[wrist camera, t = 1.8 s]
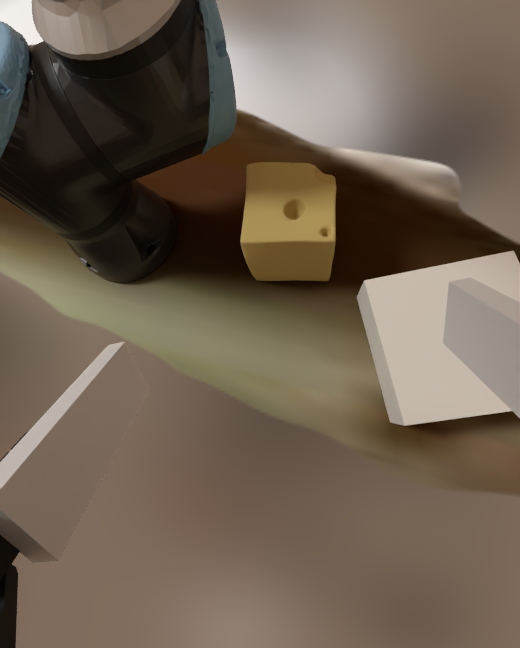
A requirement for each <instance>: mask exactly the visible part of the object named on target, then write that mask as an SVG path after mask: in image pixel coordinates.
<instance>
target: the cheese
mask: <svg viewBox="0 0 520 648" xmlns="http://www.w3.org/2000/svg"><path fill="white" fill-rule="evenodd" d="M335 205H336V180H335V177H334V176H333V175H327V174H324V173H322V172H321V171H320V170H319V169H318V168H317V167H316V166H314V165H312V164H308V163H282V162H259V163H253V164H248V165H247V170H246V199H245V207H244V216H243V224H242V232H241V240H240V243H241V247H242V251H243V254H244V257H245V260H246V263H247V265H248V267H249V269H250V271H251V273H252V275H253V277H254V278H255V279H256V280H257V281H290V280H305V281H329V278H330V274H331V268H332V261H333V257H334V250H335V242H336V213H335Z"/></svg>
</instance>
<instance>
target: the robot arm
mask: <svg viewBox="0 0 520 648" xmlns="http://www.w3.org/2000/svg"><path fill="white" fill-rule="evenodd" d="M32 14H33V20H34V24H35V26H36V29H37V31H38V33H39V34H40V36H41V37H42V39H43V40H44V41H43V42H41V43H39V44H37V45H34V46H28V44H27V42H26V41H25V39H24V37H23V36H22V35H21V34H20V33H18V32H16V31H15V30H14V29H13V28H12V27H11V26H9V25H8V24H5V23H4V22H0V196H1V197H3V198H4V199H6V200H7V201H9V202H10V203H12V204H13V205H15V206H16V207H18V208H19V209H21V210H22V211H24V212H25V213H27V214H28V215H30V216H31V217H33V218H35V219H36V220H38V221H39V222H41V223H42V224H44V225H45V226H47V227H48V228H50V229H51V230H53V231H54V232H56V233H57V234H59V235H60V236H62V237H63V238H64V239H65V240H66V242H67V243H68V244H69V246H70V247H71V248H72V250H73V251H74V252H75V254H76V255H77V256H78V257H79V258H80V260H81V261H82V263H83V264H84V265H85V266H86V267H87V268H88V269H89V270H90V271H92V272H93V273H95V274H97V275H98V276H100V277H102V278H103V279H105V280H108V281H111V282H118V283H124V282H131V281H135V280H138V279H140V278H143V277H145V276H147V275H148V274H150V273H152V272H153V271H154V270H155V269H157V268H158V267H159V266H160V265H161V264H162V263H163V262H164V261H165V259H166V258H167V257H168V255H169V253H170V252H171V250H172V248H173V245H174V242H175V239H176V232H177V226H176V220H175V217H174V214H173V212H172V211H171V209H170V208H169V207H168V205H167V204H166V202H165V201H164V200H163V199H162V198H161V197H160V196H159V195H158V194H157V193H155V192H154V191H152V190H150V189H148V188H147V187H146V186H144V185H143V184H141V183H140V182H138V181H137V180H136V179H137V178H140V177H142V176H145V175H148V174H150V173H153V172H155V171H158V170H160V169H163V168H166V167H168V166H171V165H173V164H176V163H178V162H181V161H184V160H186V159H189V158H191V157H194V156H196V155H199V154H203V153H206V152H207V151H208V149H210V148H212V147H214V146H216V145H218V144H220V143H222V142H224V141H226V140H227V139H228V138H230V136H231V135H232V133H233V131H234V129H235V125H236V98H235V89H234V82H233V75H232V69H231V64H230V59H229V56H228V53H227V51H226V42H225V36H224V30H223V26H222V21H221V18H220V14H219V11H218V7H217V3H216V0H32ZM443 344H444V345H445V346H446V347H447V348H448V349H449V350H450V351H451V352H452V353H453V354H454V355H455V356H456V357H458V358H459V359H460V360H461V361H462V362H463V363H464V364H465V365H466V366H467V367H468V368H469V369H470V370H471V371H472V372H473V373H474V374H475V375H476V376H477V377H478V378H479V379H480V380H481V381H482V382H483V383H484V384H485V385H486V386H487V387H488V388H489V389H490V390H491V391H492V392H493V393H494V394H495V395H497V396H498V397H499V398H500V399H501V400H502V401H503V402H504V403H505V404H506V405H507V406H508V407H509V408H510V409H511V410H512V411H513V412H514V413H515V414H516V415H517V416H518V417H519V418H520V302H518V301H516V300H514V299H512V298H510V297H508V296H506V295H504V294H502V293H500V292H498V291H496V290H494V289H492V288H491V287H489V286H487V285H485V284H483V283H481V282H479V281H477V280H475V279H473V278H465V279H460V280H455V281H449V287H448V297H447V307H446V317H445V327H444V337H443ZM149 392H150V389H149V387H148V385H147V383H146V382H145V380H144V378H143V376H142V374H141V372H140V370H139V368H138V366H137V364H136V362H135V361H134V359H133V357H132V355H131V353H130V351H129V349H128V347H127V345H126V343H125V342H121V343H116V344H110V345H108V346H107V347H106V348H105V349H104V350H103V351H102V353H101V354H100V355H99V356H98V357H97V358H96V359H95V360H94V361H93V362H92V363H91V364H90V365H89V367H88V368H87V369H86V370H85V371H84V372H83V373H82V374H81V375H80V376H79V377H78V378H77V380H76V381H75V382H74V383H73V384H72V385H71V386H70V387H69V388H68V389H67V390H66V391H65V393H64V394H63V395H62V396H61V397H60V398H59V399H58V400H57V401H56V402H55V403H54V405H53V406H52V407H51V408H50V409H49V410H48V411H47V412H46V413H45V414H44V415H43V416H42V417H41V419H40V420H39V421H38V422H37V423H36V424H35V425H34V426H33V427H32V428H31V429H30V430H29V431H28V432H27V433H26V434H24V435H23V436H22V438H20V440H19V441H18V442H17V443H16V444H15V445H14V446H13V447H12V448H11V451H9V452H8V453H7V454H6V455H5V456H4V457H3V458H2V459H1V460H0V648H15V643H16V616H17V615H16V614H17V587H18V572H17V569H16V567H15V566H13V565H12V562H13V561H14V559H15V558H16V556H17V555H18V553H19V552H21V553H22V554H23V555H24V556H25V557H27V558H28V559H29V560H30V561H32V562H33V563H36V562H47V561H58V560H59V559H60V557H61V555H62V553H63V551H64V549H65V547H66V546H67V544H68V542H69V540H70V538H71V536H72V534H73V532H74V531H75V529H76V527H77V525H78V523H79V521H80V519H81V518H82V516H83V514H84V512H85V510H86V508H87V507H88V505H89V503H90V501H91V499H92V497H93V495H94V494H95V492H96V490H97V488H98V486H99V484H100V482H101V481H102V479H103V477H104V475H105V473H106V471H107V469H108V468H109V465H110V464H111V462H112V460H113V458H114V456H115V454H116V453H117V451H118V449H119V447H120V445H121V443H122V442H123V440H124V438H125V436H126V434H127V432H128V430H129V429H130V427H131V425H132V423H133V421H134V419H135V417H136V416H137V414H138V412H139V410H140V408H141V406H142V404H143V402H144V401H145V399H146V397H147V395H148V393H149Z"/></svg>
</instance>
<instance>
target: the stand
mask: <svg viewBox="0 0 520 648" xmlns="http://www.w3.org/2000/svg"><path fill="white" fill-rule="evenodd" d="M465 278H473V279H475V280H477V281H479V282H481V283H483V284H485V285H487V286H489V287H491V288H492V289H494V290H496V291H498V292H500V293H502V294H504V295H506V296H508V297H510V298H512V299H514V300H516V301H518V302H520V263H519V261H518V259H517V257H516V254H515V252H514V251H509V252H504V253H499V254H494V255H489V256H484V257H479V258H474V259H469V260H464V261H459V262H454V263H449V264H444V265H439V266H434V267H429V268H424V269H419V270H414V271H409V272H404V273H399V274H394V275H389V276H384V277H379V278H374V279H369V280H364V282H363V284H362V286H361V289H360V291H359V293H358V295H357V300H358V304H359V307H360V311H361V315H362V319H363V322H364V326H365V330H366V334H367V337H368V341H369V345H370V349H371V352H372V356H373V360H374V364H375V367H376V371H377V375H378V379H379V382H380V386H381V390H382V394H383V398H384V401H385V405H386V409H387V413H388V416H389V420H390V422H391V423H395V424H399V425H404V426H406V425H414V424H421V423H428V422H436V421H443V420H450V419H458V418H465V417H472V416H479V415H487V414H494V413H501V412H509V411H512V410H511V409H510V408H509V407H508V406H507V405H506V404H505V403H504V402H503V401H502V400H501V399H500V398H499V397H498V396H497V395H495V394H494V393H493V392H492V391H491V390H490V389H489V388H488V387H487V386H486V385H485V384H484V383H483V382H482V381H481V380H480V379H479V378H478V377H477V376H476V375H475V374H474V373H473V372H472V371H471V370H470V369H469V368H468V367H467V366H466V365H465V364H464V363H463V362H462V361H461V360H460V359H459V358H458V357H456V356H455V355H454V354H453V353H452V352H451V351H450V350H449V349H448V348H447V347H446V346H445V345H444V344H443V337H444V327H445V317H446V307H447V297H448V287H449V281H455V280H460V279H465Z"/></svg>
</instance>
